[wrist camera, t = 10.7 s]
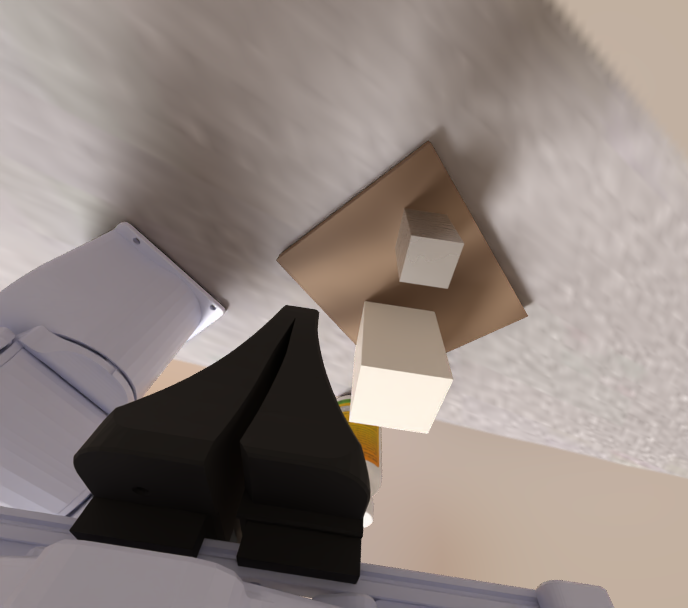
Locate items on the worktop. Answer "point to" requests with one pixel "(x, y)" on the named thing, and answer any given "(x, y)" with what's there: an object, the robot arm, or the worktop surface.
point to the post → (427, 248)
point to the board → (381, 264)
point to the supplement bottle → (367, 453)
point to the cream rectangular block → (398, 368)
